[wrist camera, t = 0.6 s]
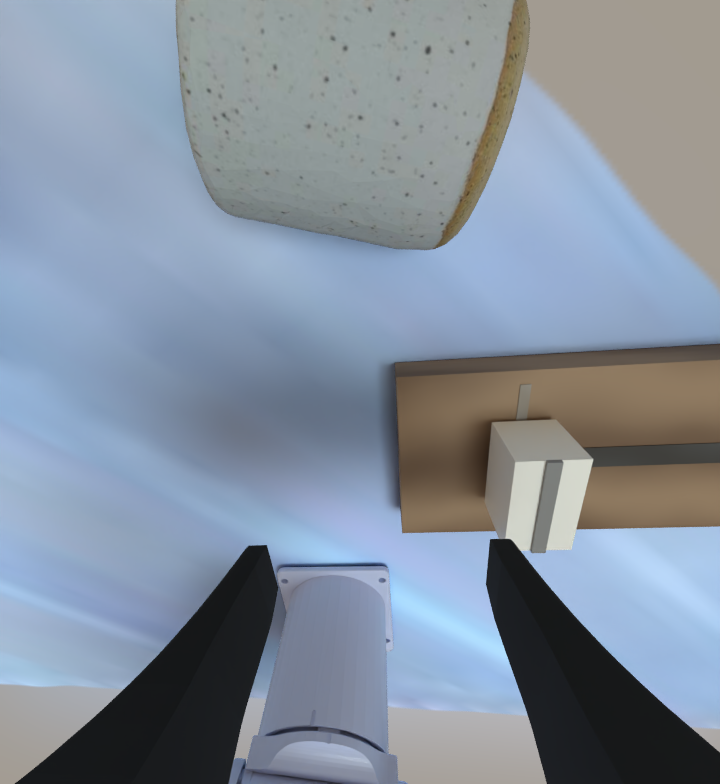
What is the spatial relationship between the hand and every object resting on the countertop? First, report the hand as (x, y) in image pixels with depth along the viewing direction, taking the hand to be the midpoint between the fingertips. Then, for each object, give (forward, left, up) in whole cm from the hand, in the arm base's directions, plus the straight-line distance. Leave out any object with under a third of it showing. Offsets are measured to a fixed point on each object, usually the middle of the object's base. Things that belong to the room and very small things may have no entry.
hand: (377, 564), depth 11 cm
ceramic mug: (+15, 0, -10) cm, 18 cm away
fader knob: (-1, -7, -7) cm, 10 cm away
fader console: (-1, -13, -9) cm, 16 cm away
